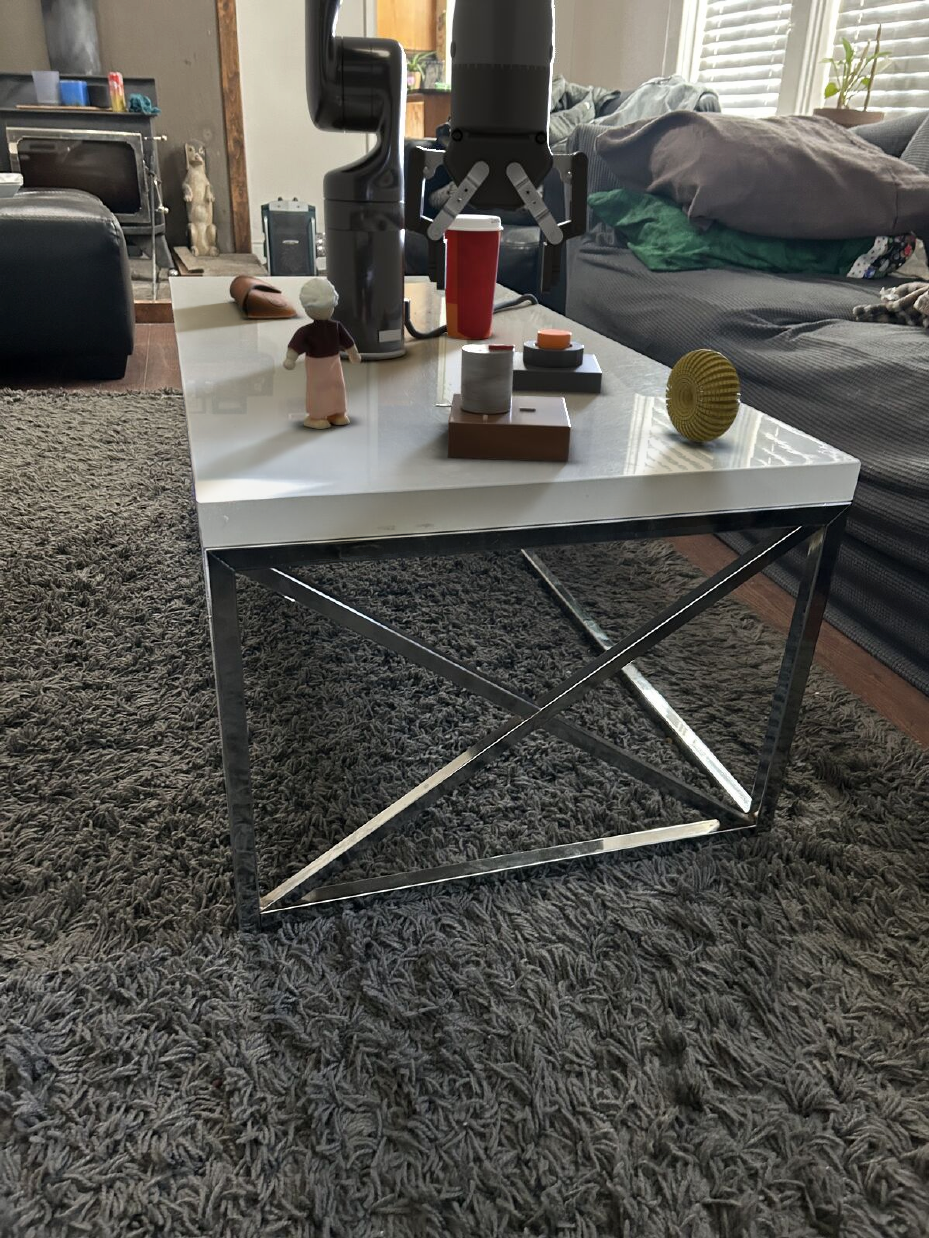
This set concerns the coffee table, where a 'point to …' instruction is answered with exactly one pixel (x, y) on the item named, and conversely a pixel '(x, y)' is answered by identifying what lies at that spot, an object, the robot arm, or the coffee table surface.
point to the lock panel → (511, 431)
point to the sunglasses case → (260, 299)
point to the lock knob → (487, 378)
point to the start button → (553, 339)
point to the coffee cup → (471, 275)
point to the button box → (556, 369)
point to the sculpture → (702, 395)
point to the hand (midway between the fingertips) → (492, 290)
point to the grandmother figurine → (322, 355)
